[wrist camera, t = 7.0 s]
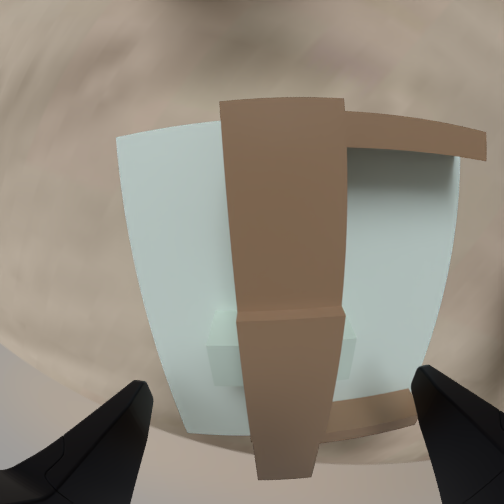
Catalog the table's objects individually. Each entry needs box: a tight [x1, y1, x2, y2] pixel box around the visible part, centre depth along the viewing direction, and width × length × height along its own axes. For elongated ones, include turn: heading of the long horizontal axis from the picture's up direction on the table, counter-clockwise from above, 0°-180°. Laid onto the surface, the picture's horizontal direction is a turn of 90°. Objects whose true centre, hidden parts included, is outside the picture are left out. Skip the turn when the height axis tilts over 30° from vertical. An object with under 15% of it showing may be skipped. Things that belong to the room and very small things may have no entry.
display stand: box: [116, 121, 460, 436], centre depth 11 cm, size 13×16×4 cm
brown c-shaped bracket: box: [219, 97, 486, 480], centre depth 9 cm, size 8×14×4 cm, turn 4°
